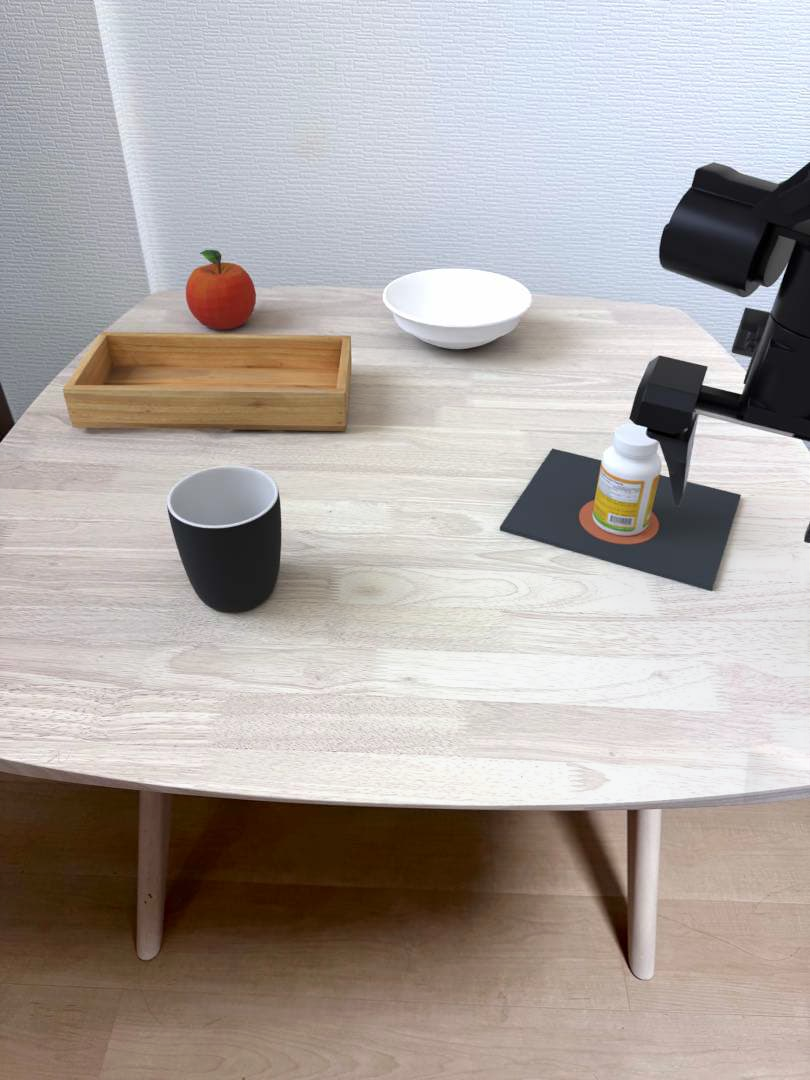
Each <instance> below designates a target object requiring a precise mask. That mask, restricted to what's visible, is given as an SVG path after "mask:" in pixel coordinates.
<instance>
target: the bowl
mask: <svg viewBox="0 0 810 1080" xmlns="http://www.w3.org/2000/svg"><path fill="white" fill-rule="evenodd" d="M382 300H383V301H382V302H383V303H384V304H385V306H386V307H387V308H388V309H389V310H390V311H391V314H392V317H393V320H394V322H395V323H396V325H397V326H398V327H399V328H401V329H402V330H404V332H407V333H409V334H411V335H412V336H414V337H415V338H417V339H418V340H420V341H423V342H424V343H426V344H430V345H432V346H435V347H439V348H443V349H449V350H464V349H471V348H475V347H476V348H477V347H480V346H484V345H486V344H489V343H491V342H493V341H495V340H497V339H499V338H500V337H503V336H505V335H507V334H509V333H511V332H512V331H514V329H516V328H517V326H518V325H519V322H520V321H521V318H522V316H523V315H524V314H525V313H526V312H527V311H529V309H530V308H531V306H532V305H533V295H532V293H531V292H530V290H529V289H528V288H527V287H526V285H524V284H522V283H521V282H519V281H517V280H516V279H513V278H511V277H508V276H506V275H503V274H499V273H495V272H491V271H486V270H480V269H472V268H454V267H453V268H434V269H425V270H421V271H416V272H412V273H409V274H405V275H403V276H400V277H398V278H396V279H394V280H393V281H391V282H390V283H389V284H388V285H386V287H385V288H384V290H383V293H382Z"/></svg>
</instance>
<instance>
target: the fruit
mask: <svg viewBox="0 0 810 1080" xmlns="http://www.w3.org/2000/svg"><path fill="white" fill-rule="evenodd" d="M199 254H200V255H202V256H203V257H204V258H205V259H206V260H207V261H208V262H210V263H209V264H206V265H201V266H198V267H196V268H194V269H193V271H192V272H191V274H190V275H189V276H188V278H187V282H186V286H185V300H186V303H187V307H188V309H189V310H188V311H190V313H191V314H192V316H193V318H195V319H196V320H197V321H198V322H199V323H200V324H201V325H203V326H205V327H207V328H210V329H212V330H217V331H218V330H219V331H225V330H232V329H236V328H237V327H240V326H242V325H243V324H244V323H246V322H247V321H248V320H249V318H250V317H251V316H252V314H253V312H254V309H255V306H256V303H257V293H256V288H255V284H254V282H253V280H252V278H251V276H250V274H249V273H248V272H247V270H245V268H243V267H242V266H240V265H239V264H236V263H233V262H224V261H223V262H222V257H223V256H222V254H221V252H220V251H219V250H217V249H205V250H203V251H200V252H199Z"/></svg>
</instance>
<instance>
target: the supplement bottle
mask: <svg viewBox="0 0 810 1080" xmlns="http://www.w3.org/2000/svg"><path fill="white" fill-rule="evenodd" d="M646 430H647V427H643V426H639V425H635V424H634V423H633V422H631V423H630V422H629V423H624V424H621V425H619V426H618V427H616V428H615V430H614V433H613V434H614V435H613V439H612V445H610V446H608V447H607V448H606V449H605V450H604V452H603V454H602V456H601V460H602V461H601V467H600V473H599V479H598V484H597V490H596V496H595V502H594V507H593V519H594V522H595V523H596V524H597V525H598V526H599V527H600V528H601V529H603V530H604V531H607V532H609V533H612V534H615V535H621V536H631V535H635V534H638V533H641V532H642V531H644V530H645V529H646V528H647V526H648V524H649V520H650V516H651V511H652V507H653V503H654V498H655V494H656V489H657V485H658V481H659V476H660V475H661V472H662V463H663V462H662V459H661V456H660V455H659V453H658V449H659V447H660V444H659V442H658V441H657V440H654V439H651V438H649V437H647V435H646Z"/></svg>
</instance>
